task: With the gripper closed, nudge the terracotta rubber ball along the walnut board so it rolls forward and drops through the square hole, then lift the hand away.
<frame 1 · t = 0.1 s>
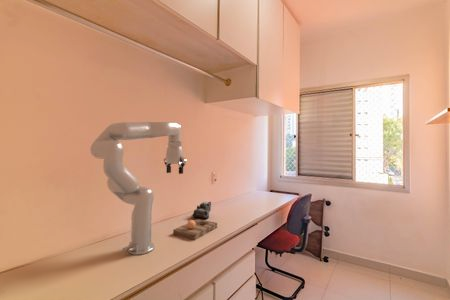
hand: (174, 173, 134), 37 cm above the table, tool pointing down, fingers open, 9 cm apart
lucky cat figurine: (201, 217, 168), on the table
board: (196, 230, 140), on the table
ball: (191, 224, 135), point 5 cm above the table, touching board
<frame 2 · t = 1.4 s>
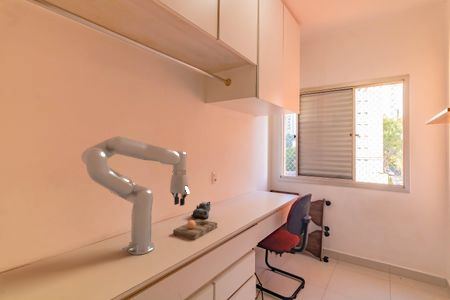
hand: (179, 204, 128), 19 cm above the table, tool pointing down, fingers open, 3 cm apart
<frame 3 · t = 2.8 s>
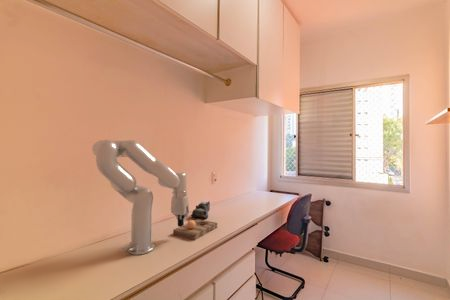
hand: (180, 225, 129), 7 cm above the table, tool pointing down, fingers closed
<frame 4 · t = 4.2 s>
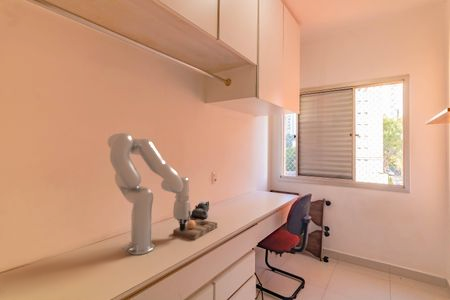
hand: (182, 229, 130), 4 cm above the table, tool pointing down, fingers closed
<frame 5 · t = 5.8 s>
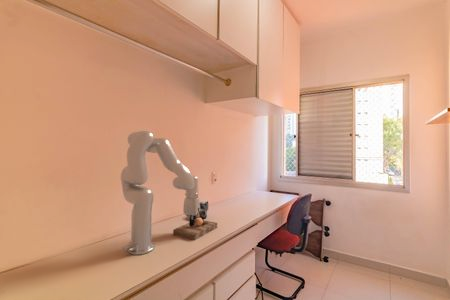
hand: (192, 225, 138), 4 cm above the table, tool pointing down, fingers closed
ball: (198, 221, 140), point 5 cm above the table, tilted 147°, touching board
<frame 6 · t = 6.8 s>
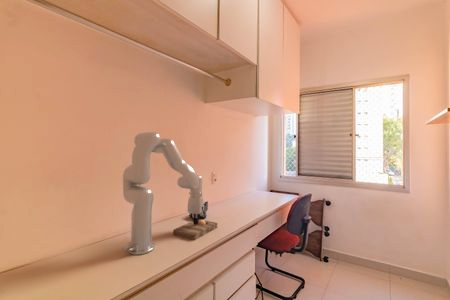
hand: (196, 223, 142), 4 cm above the table, tool pointing down, fingers closed
ball: (201, 223, 146), point 2 cm above the table, tilted 95°
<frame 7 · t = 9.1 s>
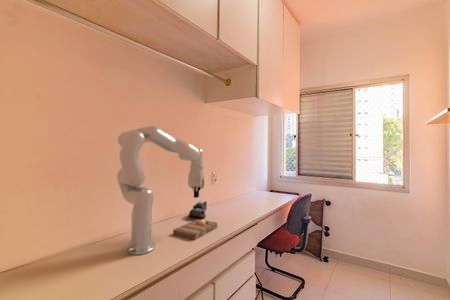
hand: (196, 197, 142), 21 cm above the table, tool pointing down, fingers closed
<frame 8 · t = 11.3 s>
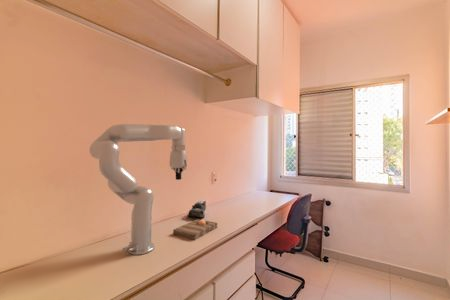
hand: (178, 179, 133), 33 cm above the table, tool pointing down, fingers closed
at the end: ball 0.9 cm from the target spot on the board, point 2.5 cm above the board's base; ball touching table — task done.
